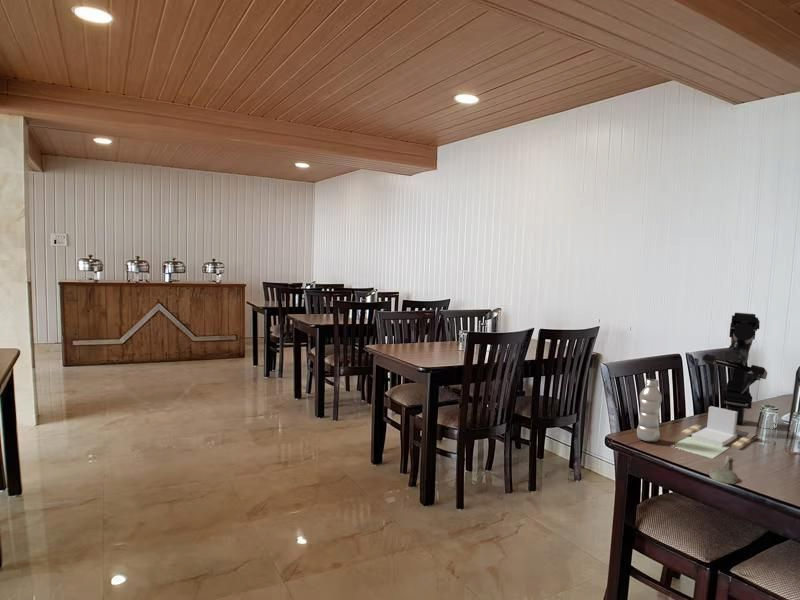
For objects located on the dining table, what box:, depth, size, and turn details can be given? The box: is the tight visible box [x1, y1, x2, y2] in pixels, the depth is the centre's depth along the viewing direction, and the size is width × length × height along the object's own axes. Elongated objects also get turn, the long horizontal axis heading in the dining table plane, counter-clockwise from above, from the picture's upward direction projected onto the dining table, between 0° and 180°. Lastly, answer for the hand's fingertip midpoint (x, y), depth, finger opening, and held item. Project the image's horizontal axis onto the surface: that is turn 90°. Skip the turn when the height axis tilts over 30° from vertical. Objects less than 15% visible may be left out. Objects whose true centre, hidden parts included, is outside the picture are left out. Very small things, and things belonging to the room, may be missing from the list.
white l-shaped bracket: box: [690, 405, 738, 447], centre depth 171 cm, size 16×9×9 cm, turn 132°
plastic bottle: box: [636, 378, 663, 443], centre depth 165 cm, size 6×7×20 cm
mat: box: [671, 436, 730, 460], centre depth 161 cm, size 16×12×1 cm
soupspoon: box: [708, 455, 739, 485], centre depth 143 cm, size 22×3×7 cm
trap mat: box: [700, 422, 750, 438], centre depth 181 cm, size 7×16×1 cm, turn 42°
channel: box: [680, 423, 752, 450], centre depth 172 cm, size 14×17×1 cm
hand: (726, 389), depth 177 cm, fingers open, 9 cm apart
